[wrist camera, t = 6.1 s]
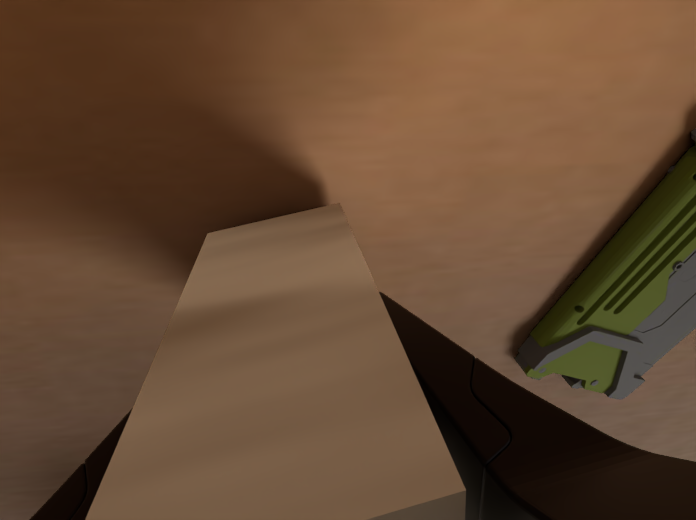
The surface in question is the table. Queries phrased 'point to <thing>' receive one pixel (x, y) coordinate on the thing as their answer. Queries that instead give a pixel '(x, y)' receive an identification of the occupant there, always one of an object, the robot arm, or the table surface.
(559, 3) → the table surface
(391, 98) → the table surface
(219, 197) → the table surface
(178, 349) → the wooden l-shaped block
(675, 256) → the gun
